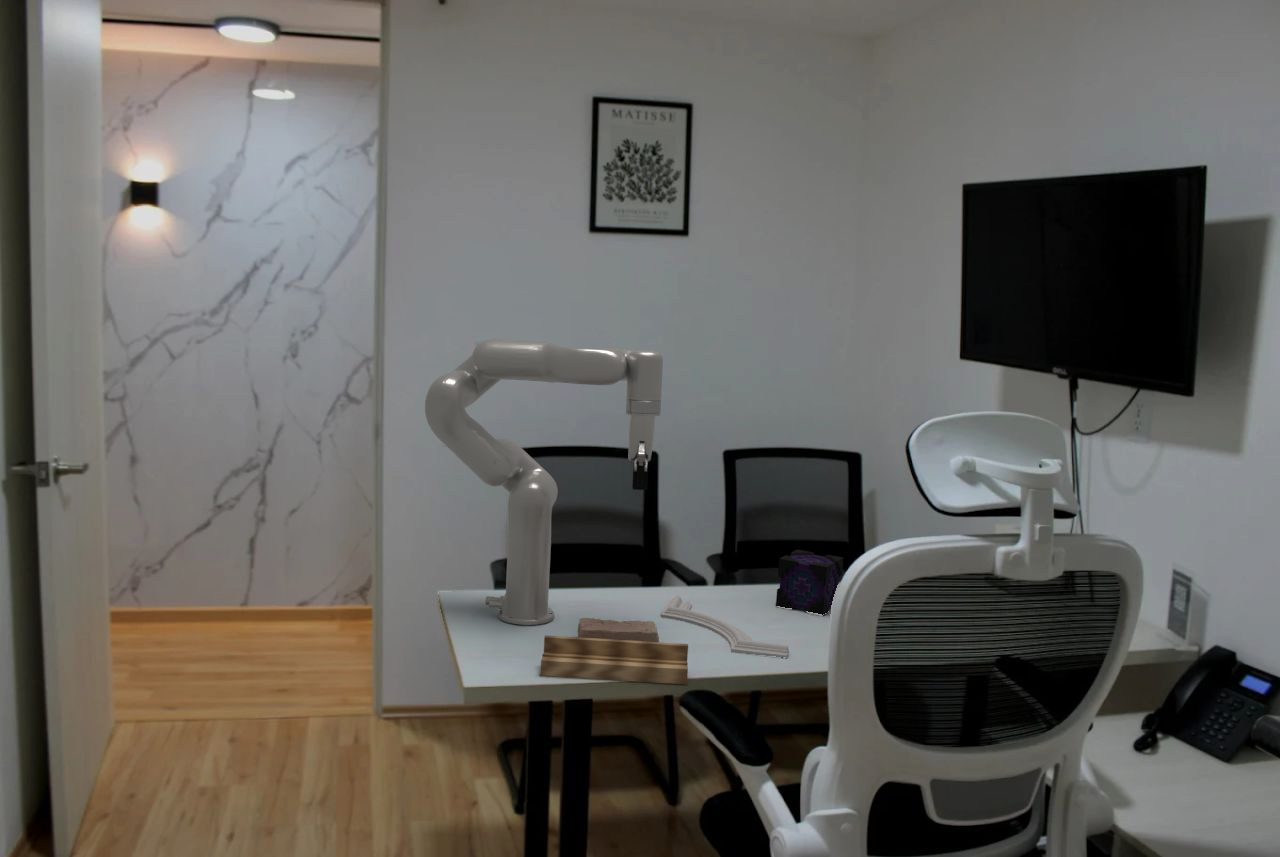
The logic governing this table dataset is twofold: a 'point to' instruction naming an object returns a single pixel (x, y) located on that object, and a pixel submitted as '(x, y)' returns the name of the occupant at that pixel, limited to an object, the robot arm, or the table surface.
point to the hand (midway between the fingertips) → (639, 485)
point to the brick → (618, 630)
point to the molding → (722, 630)
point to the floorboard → (615, 659)
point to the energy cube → (808, 581)
